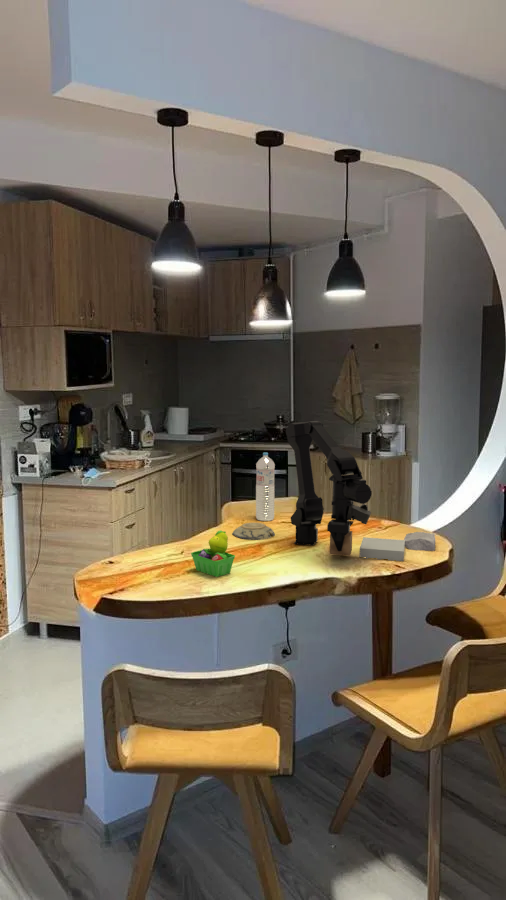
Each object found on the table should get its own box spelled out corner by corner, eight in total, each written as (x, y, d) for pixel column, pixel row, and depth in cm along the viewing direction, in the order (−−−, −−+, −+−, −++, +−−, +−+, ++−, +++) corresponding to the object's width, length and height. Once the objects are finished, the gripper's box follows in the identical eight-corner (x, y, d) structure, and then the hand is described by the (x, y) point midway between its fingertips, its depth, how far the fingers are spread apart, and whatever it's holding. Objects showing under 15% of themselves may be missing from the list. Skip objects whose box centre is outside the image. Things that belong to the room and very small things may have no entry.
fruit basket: (189, 570, 196) (189, 531, 194) (212, 563, 202) (212, 526, 200) (216, 579, 188) (215, 539, 186) (239, 572, 194) (239, 533, 192)
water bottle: (253, 517, 258) (253, 451, 255) (270, 516, 261) (271, 451, 257) (259, 522, 252) (259, 454, 249) (276, 520, 254) (277, 453, 251)
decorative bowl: (236, 529, 244) (227, 539, 229) (236, 519, 243) (227, 529, 228) (278, 531, 241) (271, 542, 226) (278, 521, 241) (272, 531, 226)
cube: (329, 554, 206) (330, 534, 205) (332, 548, 211) (332, 529, 211) (349, 555, 204) (350, 536, 203) (351, 550, 210) (352, 531, 209)
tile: (359, 557, 208) (359, 548, 208) (363, 546, 221) (363, 537, 220) (403, 561, 205) (403, 551, 205) (404, 549, 218) (404, 540, 217)
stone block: (405, 555, 218) (437, 551, 215) (403, 540, 217) (435, 536, 215) (405, 547, 229) (436, 542, 227) (403, 532, 229) (433, 528, 227)
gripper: (367, 505, 195) (365, 559, 197) (371, 492, 212) (370, 542, 215) (327, 503, 197) (326, 556, 199) (335, 490, 215) (334, 539, 217)
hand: (340, 548), depth 208 cm, fingers closed on cube, 6 cm apart
